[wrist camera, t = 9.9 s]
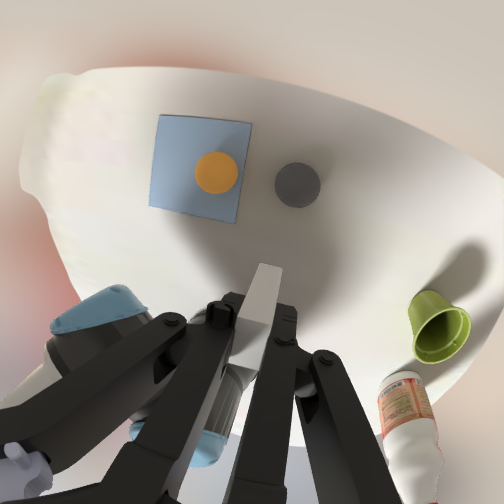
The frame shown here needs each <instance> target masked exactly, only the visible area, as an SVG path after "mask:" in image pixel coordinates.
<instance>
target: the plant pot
mask: <svg viewBox="0 0 504 504" xmlns="http://www.w3.org/2000/svg"><path fill="white" fill-rule="evenodd" d="M408 314H409V318H410V322H411V326H412V330H413V335H414V340H413V352H414V355H415V357H416V358H417V359H418V360H419V361H420V362H422V363H426V364H436V363H440V362H442V361H445V360H447V359H448V358H450V357H452V356H453V355H454V354H456V353H457V352H458V351H459V350H460V348H461V347H462V346H463V345H464V343H465V342H466V340H467V338H468V336H469V334H470V330H471V320H470V317H469V315H468V313H467V312H466V311H465V310H463V309H461V308H458V307H455V306H453V305H451V304H450V303H449V302H448V301H447V300H445V299H444V298H443V297H442V296H441V295H439V294H438V293H437V292H436V291H430V290H425V291H423V292H421V293H419V294H417V295H416V296H415V297H414V298H413V299H412V301H411V304H410V307H409V309H408Z"/></svg>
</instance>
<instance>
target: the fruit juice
mask: <svg viewBox="0 0 504 504" xmlns="http://www.w3.org/2000/svg"><path fill="white" fill-rule="evenodd" d="M377 401H378V407H379V414H380V420H381V428H382V435H383V445H384V450H385V454H386V457H387V458H388V460H389V467H388V469H389V472H390V474H391V477H392V479H393V482H394V484H395V487H396V489H397V491H398V493H399V494H400V496H401V498H402V499H403V502H404V504H438V503H437V500H435V493H436V488H437V483H438V479H439V476H440V473H441V470H442V468H443V465H444V456H443V453H442V451H441V449H440V448H439V446H438V444H437V443H438V437H439V436H438V429H437V425H436V422H435V418H434V415H433V412H432V409H431V405H430V402H429V399H428V396H427V393H426V390H425V387H424V384H423V381H422V379H421V377H420V376H419V375H418V374H417V373H415V372H413V371H401V372H398V373H395V374H393V375H391V376H389V377H387V378H386V379H385V380H384V381H383V382H382V383H381V384H380V386H379V387H378V390H377Z"/></svg>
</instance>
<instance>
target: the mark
mask: <svg viewBox="0 0 504 504" xmlns="http://www.w3.org/2000/svg"><path fill="white" fill-rule="evenodd" d="M251 127H252V124H248V123H241V122H233V121H225V120H216V119H206V118H194V117H180V116H159V121H158V127H157V133H156V140H155V148H154V156H153V164H152V173H151V183H150V194H149V206H152V207H157V208H162V209H167V210H172V211H176V212H181V213H186V214H191V215H196V216H200V217H205V218H210V219H214V220H219V221H223V222H228V223H232V224H235V220H236V214H237V208H238V202H239V196H240V190H241V184H242V178H243V172H244V166H245V160H246V155H247V149H248V144H249V138H250V132H251ZM211 152H223V153H226V154H227V155H229V156H230V157H231V158H232V159H233V160H234V161H235V163H236V165H237V169H238V176H237V180H236V182H235V184H234V185H233V187H232V188H231V189H229V190H228V191H226V192H224V193H221V194H211V193H208V192H206V191H204V190H203V189H202V188H200V186H199V185H198V184H197V182H196V179H195V168H196V165H197V163H198V161H199V160H200V159H201V158H202V157H203V156H204V155H206V154H208V153H211Z"/></svg>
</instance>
